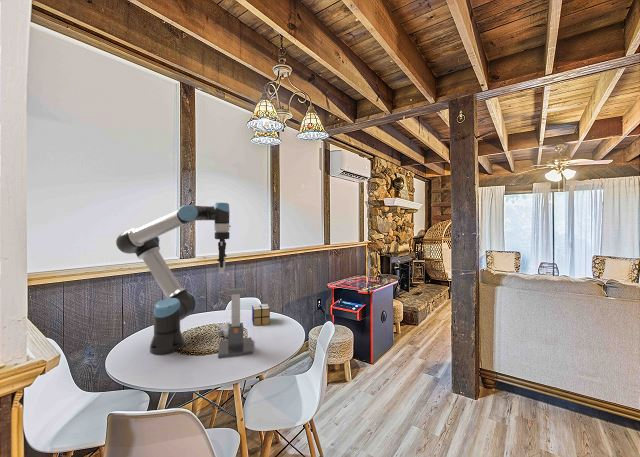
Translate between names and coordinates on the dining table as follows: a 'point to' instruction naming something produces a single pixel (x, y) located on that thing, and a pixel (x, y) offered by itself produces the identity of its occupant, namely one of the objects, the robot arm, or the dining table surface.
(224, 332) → the bunny figurine
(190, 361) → the dining table surface
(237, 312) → the post
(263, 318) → the puzzle cube
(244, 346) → the jack stand base
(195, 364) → the dining table surface
